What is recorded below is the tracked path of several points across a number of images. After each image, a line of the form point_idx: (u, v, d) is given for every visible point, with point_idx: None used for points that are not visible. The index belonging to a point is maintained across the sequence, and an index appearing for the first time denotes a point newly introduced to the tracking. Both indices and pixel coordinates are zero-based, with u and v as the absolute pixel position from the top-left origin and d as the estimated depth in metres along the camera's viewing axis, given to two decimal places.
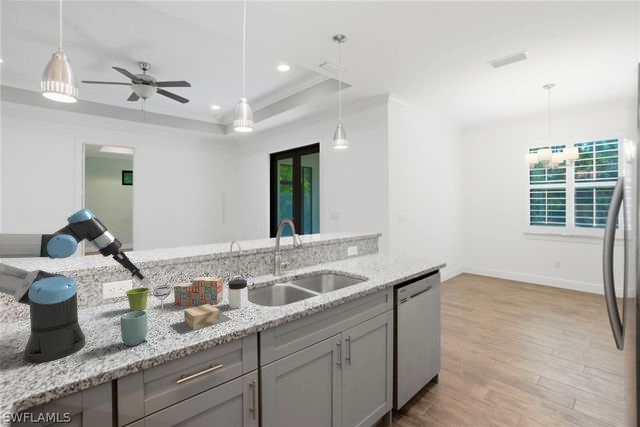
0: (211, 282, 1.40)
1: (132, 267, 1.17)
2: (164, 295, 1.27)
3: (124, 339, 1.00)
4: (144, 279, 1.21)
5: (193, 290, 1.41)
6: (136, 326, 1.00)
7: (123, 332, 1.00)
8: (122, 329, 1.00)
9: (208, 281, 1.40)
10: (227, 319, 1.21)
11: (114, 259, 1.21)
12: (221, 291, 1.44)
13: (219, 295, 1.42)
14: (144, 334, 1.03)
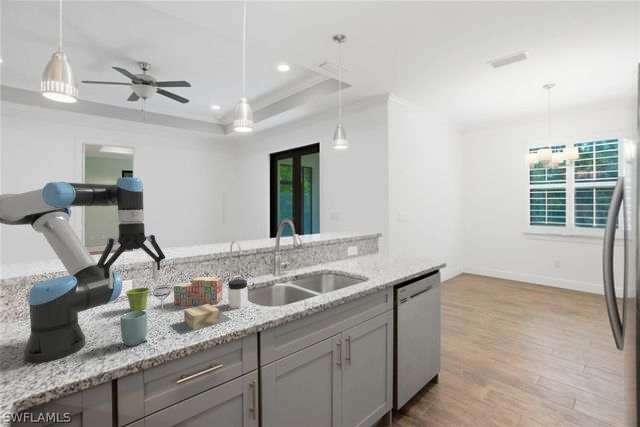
0: (211, 282, 1.40)
1: (100, 259, 0.97)
2: (164, 295, 1.27)
3: (124, 339, 1.00)
4: (109, 280, 0.99)
5: (192, 290, 1.41)
6: (136, 326, 1.00)
7: (123, 332, 1.00)
8: (122, 329, 1.00)
9: (208, 281, 1.40)
10: (227, 319, 1.21)
11: None
12: (221, 291, 1.44)
13: (218, 295, 1.42)
14: (144, 334, 1.03)
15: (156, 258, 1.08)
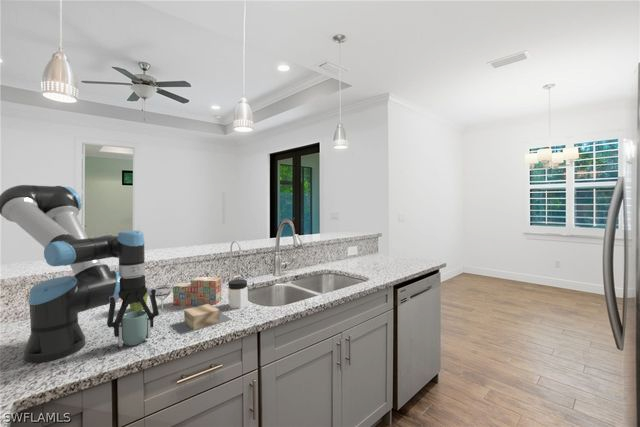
0: (210, 282, 1.40)
1: (108, 318, 0.98)
2: (164, 295, 1.27)
3: (124, 339, 1.00)
4: (118, 338, 1.00)
5: (191, 290, 1.41)
6: (136, 326, 1.00)
7: (123, 332, 1.00)
8: (122, 329, 1.00)
9: (207, 281, 1.40)
10: (227, 319, 1.21)
11: None
12: (220, 291, 1.44)
13: (217, 295, 1.42)
14: (144, 334, 1.03)
15: (150, 315, 1.06)
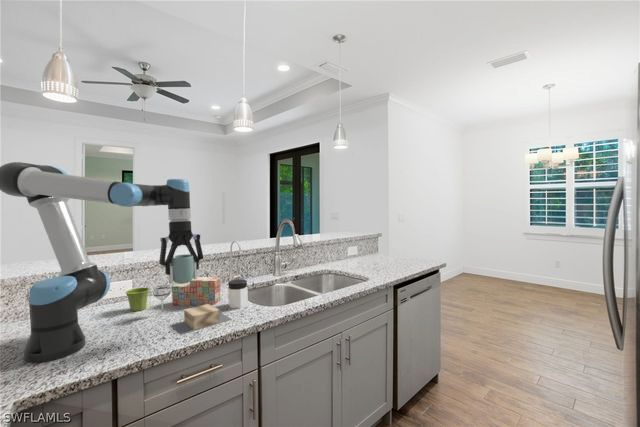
0: (209, 282, 1.39)
1: (160, 257, 1.08)
2: (164, 295, 1.27)
3: (175, 277, 1.09)
4: (169, 276, 1.10)
5: (190, 291, 1.40)
6: (185, 265, 1.10)
7: (174, 270, 1.09)
8: (173, 268, 1.09)
9: (206, 281, 1.40)
10: (227, 319, 1.21)
11: None
12: (219, 291, 1.44)
13: (217, 295, 1.42)
14: (192, 274, 1.12)
15: (196, 258, 1.15)
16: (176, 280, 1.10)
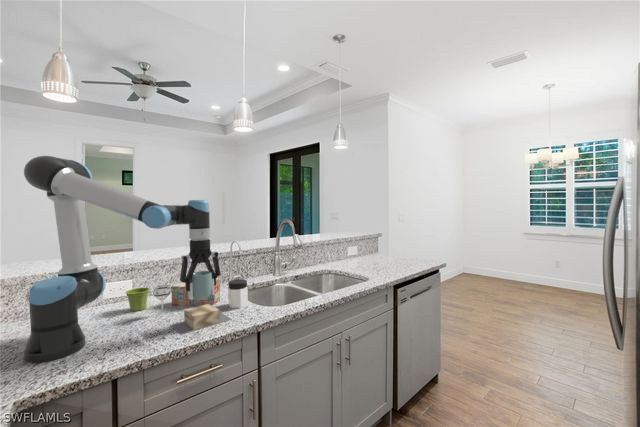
0: None
1: (181, 275, 1.13)
2: (164, 295, 1.27)
3: (194, 293, 1.15)
4: (189, 293, 1.15)
5: None
6: (204, 282, 1.15)
7: (194, 287, 1.14)
8: (193, 284, 1.15)
9: None
10: (227, 319, 1.21)
11: None
12: (218, 291, 1.44)
13: (216, 295, 1.42)
14: (210, 290, 1.18)
15: (213, 274, 1.20)
16: (196, 296, 1.15)
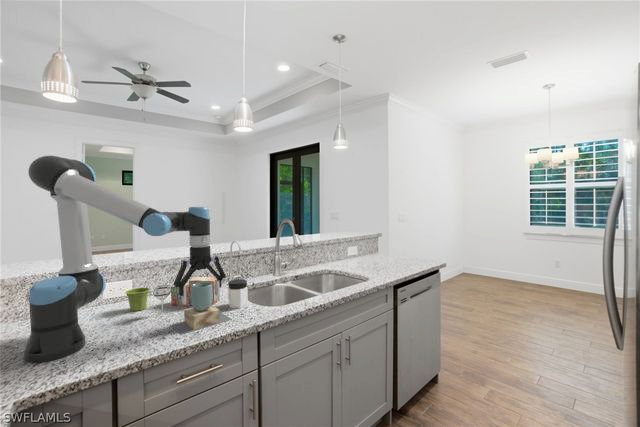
0: None
1: (176, 279, 1.12)
2: (164, 295, 1.27)
3: (195, 305, 1.15)
4: (183, 297, 1.13)
5: (189, 291, 1.40)
6: (205, 294, 1.15)
7: (194, 299, 1.15)
8: (193, 296, 1.15)
9: (205, 281, 1.40)
10: (227, 319, 1.21)
11: None
12: None
13: None
14: (211, 301, 1.18)
15: (218, 277, 1.22)
16: (196, 308, 1.15)
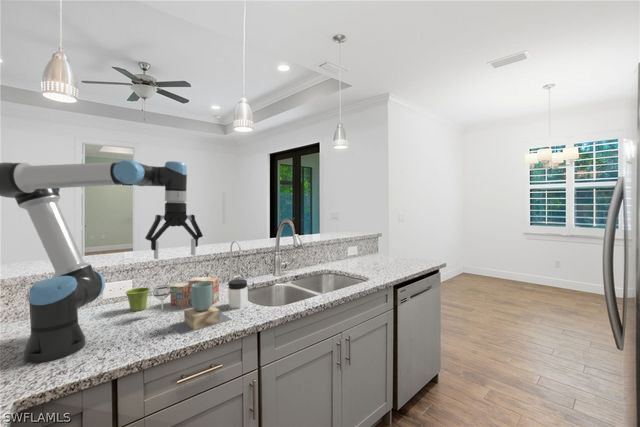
0: None
1: (149, 232, 1.10)
2: (164, 295, 1.27)
3: (195, 305, 1.15)
4: (155, 252, 1.11)
5: (189, 291, 1.40)
6: (205, 294, 1.15)
7: (194, 299, 1.15)
8: (193, 296, 1.15)
9: (204, 281, 1.40)
10: (227, 319, 1.21)
11: None
12: (217, 291, 1.44)
13: (215, 295, 1.41)
14: (211, 302, 1.18)
15: (195, 236, 1.20)
16: (196, 308, 1.15)
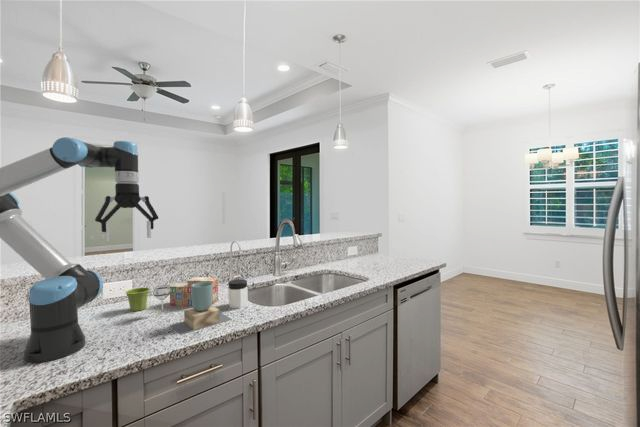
0: None
1: (98, 214, 1.07)
2: (164, 295, 1.27)
3: (195, 305, 1.15)
4: (106, 234, 1.09)
5: (188, 291, 1.40)
6: (205, 294, 1.15)
7: (194, 299, 1.15)
8: (193, 296, 1.15)
9: (203, 281, 1.39)
10: (227, 319, 1.21)
11: None
12: (217, 291, 1.44)
13: (214, 295, 1.41)
14: (211, 302, 1.18)
15: (150, 218, 1.18)
16: (196, 308, 1.15)
